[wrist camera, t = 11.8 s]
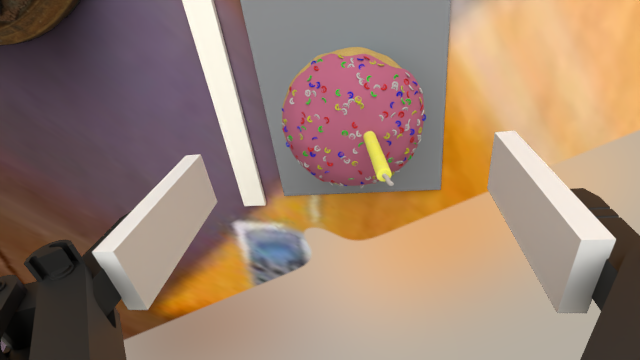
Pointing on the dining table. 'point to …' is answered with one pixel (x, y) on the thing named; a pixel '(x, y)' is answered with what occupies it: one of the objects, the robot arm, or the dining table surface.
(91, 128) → the dining table surface
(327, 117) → the cupcake
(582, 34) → the dining table surface
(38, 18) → the owl figurine
